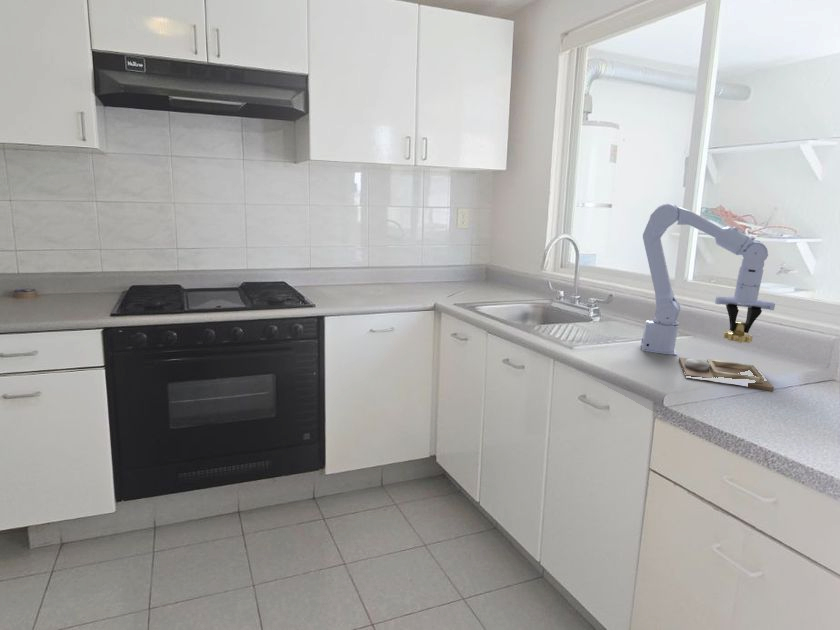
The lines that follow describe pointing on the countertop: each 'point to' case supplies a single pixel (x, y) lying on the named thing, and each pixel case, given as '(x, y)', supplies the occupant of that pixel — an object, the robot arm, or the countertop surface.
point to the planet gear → (738, 333)
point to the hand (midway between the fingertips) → (738, 331)
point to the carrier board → (723, 371)
